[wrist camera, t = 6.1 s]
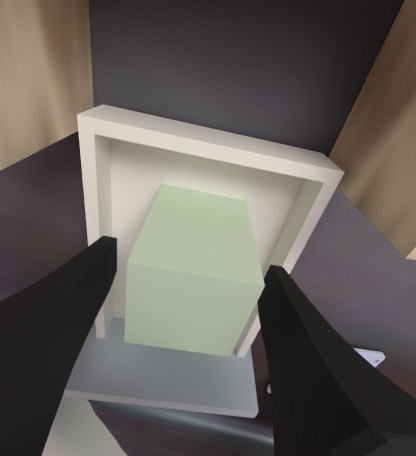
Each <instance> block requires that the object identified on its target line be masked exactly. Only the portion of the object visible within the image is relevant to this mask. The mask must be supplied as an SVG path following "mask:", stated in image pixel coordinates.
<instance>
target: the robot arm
mask: <svg viewBox="0 0 416 456" xmlns="http://www.w3.org/2000/svg"><path fill="white" fill-rule="evenodd" d="M116 272H117V238H115V237H109V236H104V235H103V236H102V237H100V238H99V239H98V240H96V241H95V242H94V243H92V244H91V245H90V246H88V247H87V248H86V249H84V250H83V251H82V252H80V253H79V254H78V255H76V256H75V257H74V258H72V259H71V260H69V261H68V262H67V263H65V264H64V265H62V266H61V267H59V268H58V269H56V270H55V271H53V272H52V273H50V274H48V275H47V276H45V277H44V278H42V279H41V280H39V281H37V282H36V283H34V284H32V285H30V286H29V287H27V288H25V289H23V290H21V291H20V292H18V293H16V294H14V295H12V296H10V297H8V298H6V299H4V300H2V301H0V456H41V455H42V453H43V450H44V447H45V444H46V441H47V438H48V435H49V432H50V429H51V426H52V423H53V420H54V418H55V415H56V412H57V409H58V407H59V404H60V401H61V398H62V396H63V393H64V390H65V388H66V385H67V383H68V380H69V377H70V375H71V372H72V370H73V367H74V365H75V362H76V360H77V357H78V355H79V352H80V350H81V347H82V345H83V343H84V340H85V338H86V336H87V334H88V332H89V330H90V328H91V326H92V324H93V322H94V321H95V319H96V317H97V315H98V313H99V311H100V309H101V307H102V305H103V303H104V301H105V299H106V297H107V295H108V293H109V291H110V289H111V286H112V284H113V281H114V278H115V275H116ZM264 284H265V287H264V289H263V291H262V293H261V295H260V297H259V299H258V301H257V304H258V315H259V320H260V326H261V331H262V336H263V341H264V346H265V352H266V357H267V362H268V369H269V379H270V384H269V385H268V387H267V392H268V393H271V402H272V416H273V435H274V456H416V399H414V398H413V397H412V396H410V395H409V394H408V393H406V392H405V391H404V390H402V389H401V388H400V387H398V386H397V385H396V384H395V383H393V382H392V381H391V380H390V379H388V378H387V377H386V376H385V375H383V374H382V373H381V372H380V371H379V370H377V369H376V368H375V367H376V366H377V365H378V364H379V363H380V362H382V361H383V360H384V359H385V356H384V354H383V353H382V352H378V351H372V350H365V349H358V348H353V347H352V346H350V345H349V344H348V343H347V342H346V341H345V340H344V339H343V338H342V337H341V336H340V335H339V334H338V333H337V332H336V331H335V330H334V329H333V327H332V326H331V325H330V324H329V323H328V322H327V321H326V320H325V319H324V317H323V316H322V315H321V314H320V313H319V312H318V311H317V309H316V308H315V307H314V306H313V305H312V303H311V302H310V301H309V300H308V298H307V297H306V296H305V295H304V293H303V292H302V291H301V290H300V288H299V287H298V286H297V284H296V283H295V282H294V280H293V279H292V278H291V276H290V275H289V274H288V273H287V271H286V270H285V269H284V268H283V267H282V266H276V265H271V264H270V266H269V269H268V271H267V273H266V275H265V277H264Z"/></svg>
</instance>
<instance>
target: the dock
mask: <svg viewBox="0 0 416 456" xmlns="http://www.w3.org/2000/svg"><path fill="white" fill-rule="evenodd" d="M92 108H94V96H93V76H92V56H91V36H90V16H89V0H0V170H2V169H4V168H6V167H8V166H10V165H12V164H14V163H16V162H18V161H20V160H22V159H24V158H26V157H28V156H30V155H32V154H34V153H36V152H38V151H40V150H42V149H44V148H46V147H48V146H50V145H51V144H53V143H55V142H57V141H59V140H61V139H63V138H65V137H67V136H69V135H71V134H73V133H75V132H77V131H78V121H77V114H79V113H82V112H84V111H87V110H90V109H92ZM328 158H329V159H330V160H331V161H332V162H333V163H334V164H336V165H337V166H338V167H339V168H340V169H341V170H343V171H344V172H345V173H344V175H343V176H342V178H341V180H340V182H339V184H338V186H337V188H338V189H339V190H340V191H341V192H342V193H343V194H344V195H345V196H346V197H347V198H348V199H349V200H350V201H351V202H352V203H353V204H354V205H355V206H356V207H357V208H358V209H359V210H360V211H361V212H362V213H363V214H364V215H365V216H366V218H367V219H368V220H369V221H370V222H371V223H372V224H373V225H374V226H375V227H376V228H377V229H378V230H379V231H380V232H381V233H382V234H383V235H384V236H385V237H386V238H387V239H388V240H389V241H390V242H391V243H392V244H393V245H394V246H395V247H396V248H397V250H398V251H399V252H400V253H401V254H402V255H403V256H404V257H405V258H408V259H413V260H416V0H405V1H404V3H403V5H402V7H401V9H400V11H399V13H398V15H397V17H396V19H395V21H394V23H393V25H392V27H391V29H390V31H389V33H388V35H387V38H386V40H385V42H384V44H383V46H382V48H381V50H380V52H379V54H378V56H377V58H376V60H375V62H374V64H373V66H372V68H371V70H370V73H369V75H368V77H367V79H366V81H365V83H364V85H363V87H362V89H361V91H360V93H359V95H358V97H357V99H356V101H355V103H354V105H353V107H352V110H351V112H350V114H349V116H348V118H347V120H346V122H345V124H344V126H343V128H342V130H341V132H340V134H339V136H338V138H337V140H336V142H335V144H334V147H333V149H332V151H331V153H330V155H329V157H328Z"/></svg>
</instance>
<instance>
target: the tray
mask: <svg viewBox="0 0 416 456" xmlns="http://www.w3.org/2000/svg"><path fill="white" fill-rule="evenodd" d="M77 121H78V132H79V144H80V155H81V167H82V178H83V190H84V201H85V213H86V224H87V236H88V246H90V245H91V244H92V243H94V242H95V241H96V240H98V239H99V238H100V237H102V236H103V235H104V236H109V237H115V238H117V272H116V275H115V278H114V281H113V284H112V286H111V289H110V291H109V293H108V295H107V297H106V299H105V301H104V303H103V305H102V307H101V309H100V311H99V313H98V315H97V317H96V319H95V321H94V324H93V326H92V328H91V330H90V332H89V334H88V337H87V339H86V341H85V343H84V345H83V347H82V349H81V352H80V354H79V356H78V358H77V360H76V362H75V365H74V367H73V370H72V372H71V375H70V377H69V380H68V383H67V385H66V388H65V390H64V395H65V397H70V398H79V399H88V400H97V401H106V402H115V403H124V404H133V405H142V406H151V407H160V408H169V409H178V410H186V411H195V412H204V413H213V414H222V415H231V416H240V417H249V418H254V417H255V416H256V415H257V413H258V404H257V396H256V388H255V379H254V371H253V363H252V355H251V347H250V346H251V344H252V342H253V340H254V338H255V337H256V335H257V333H258V331H259V329H260V327H261V326H260V320H259V315H258V304H257V303H256V305H255V307H254V309H253V311H252V313H251V315H250V317H249V319H248V321H247V323H246V325H245V327H244V329H243V332H242V334H241V336H240V338H239V340H238V342H237V344H236V346H235V348H234V350H233V352H232V354H231V356H230V357H227V356H219V355H212V354H205V353H198V352H191V351H183V350H176V349H169V348H162V347H154V346H147V345H140V344H133V343H126V342H124V333H125V306H126V279H127V262H128V259H129V257H130V255H131V252H132V250H133V248H134V246H135V243H136V241H137V239H138V236H139V234H140V232H141V230H142V227H143V225H144V223H145V220H146V218H147V216H148V214H149V211H150V209H151V207H152V204H153V202H154V200H155V198H156V195H157V193H158V191H159V188H160V186H161V184H166V185H171V186H176V187H181V188H186V189H191V190H196V191H201V192H205V193H210V194H215V195H220V196H225V197H230V198H235V199H240V200H245V201H246V203H247V207H248V212H249V216H250V221H251V225H252V230H253V234H254V239H255V243H256V248H257V252H258V257H259V261H260V266H261V270H262V275H263V279H264V277H265V275H266V273H267V271H268V269H269V266H270V264H271V265H276V266H282V267H283V268H284V269H285V270H286V271H287V273H288V274H290V272H291V270H292V268H293V267H294V265H295V263H296V261H297V259H298V257H299V256H300V254H301V252H302V250H303V248H304V246H305V245H306V243H307V241H308V239H309V237H310V235H311V233H312V232H313V230H314V228H315V226H316V224H317V222H318V221H319V219H320V217H321V215H322V213H323V211H324V210H325V208H326V206H327V204H328V202H329V200H330V199H331V197H332V195H333V193H334V191H335V189H336V187H337V186H338V184H339V182H340V180H341V178H342V176H343V175H344V173H345V172H344V171H343V170H341V169H340V168H339V167H338V166H337V165H336V164H334V163H333V162H332V161H331V160H330V159H329V158H327V157H326V156H325V155H324V154H323V153H320V152H315V151H311V150H306V149H302V148H297V147H293V146H288V145H284V144H279V143H275V142H270V141H266V140H261V139H257V138H252V137H248V136H243V135H239V134H234V133H230V132H225V131H221V130H216V129H212V128H207V127H203V126H198V125H194V124H189V123H185V122H180V121H176V120H171V119H167V118H162V117H158V116H153V115H149V114H144V113H140V112H135V111H131V110H126V109H122V108H117V107H113V106H108V105H104V104H103V105H100V106H97V107H95V108H92V109H90V110H87V111H84V112H82V113H79V114H77Z"/></svg>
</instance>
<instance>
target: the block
mask: <svg viewBox="0 0 416 456" xmlns="http://www.w3.org/2000/svg"><path fill="white" fill-rule="evenodd" d="M264 287H265V284H264V279H263V275H262V270H261V266H260V261H259V257H258V252H257V248H256V243H255V239H254V234H253V230H252V225H251V221H250V216H249V212H248V207H247V203H246V201H245V200H240V199H235V198H230V197H225V196H220V195H215V194H210V193H205V192H201V191H196V190H191V189H186V188H181V187H176V186H171V185H166V184H161V186H160V188H159V191H158V193H157V195H156V198H155V200H154V202H153V204H152V207H151V209H150V211H149V214H148V216H147V218H146V220H145V223H144V225H143V227H142V230H141V232H140V234H139V236H138V239H137V241H136V243H135V246H134V248H133V250H132V252H131V255H130V257H129V259H128V262H127V279H126V306H125V333H124V342H126V343H133V344H140V345H147V346H154V347H162V348H169V349H176V350H183V351H191V352H198V353H205V354H212V355H219V356H227V357H230V356H231V354H232V352H233V350H234V348H235V346H236V344H237V342H238V340H239V338H240V336H241V334H242V332H243V329H244V327H245V325H246V323H247V321H248V319H249V317H250V315H251V313H252V311H253V309H254V307H255V305H256V303H257V301H258V299H259V297H260V295H261V293H262V291H263V289H264Z"/></svg>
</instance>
